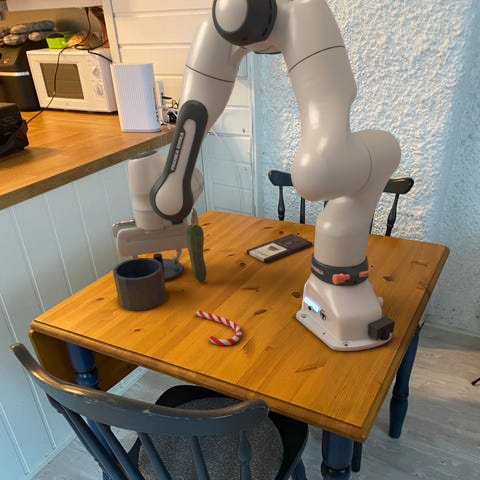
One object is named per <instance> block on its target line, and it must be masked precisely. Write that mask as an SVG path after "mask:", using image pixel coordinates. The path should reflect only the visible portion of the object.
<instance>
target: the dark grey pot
mask: <svg viewBox="0 0 480 480" xmlns="http://www.w3.org/2000/svg"><path fill="white" fill-rule="evenodd" d="M112 274H113V280H114V284H115V289H116V294H117V295H116V296H117V300H118V304H119V305H120V307H121V308H123V309H125V310H127V311H132V312H142V311H148V310H152V309H155V308H157V307H160V306H161V305H163V303H164V302H166V299H167V289H166V280H164V274H163V267H162V264H161V262H159V261H158V260H156V259H153V258H151V257H138V258H135V259H133V258H130V259H127V260H124V261H121V262H119V263H118V264H116V265H115V266H114V268H113V269H112Z"/></svg>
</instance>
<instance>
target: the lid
mask: <svg viewBox="0 0 480 480" xmlns="http://www.w3.org/2000/svg"><path fill="white" fill-rule="evenodd" d="M152 256H153V257H152V259H156V260H158V261H159V262H161V264H162V267H163V274H164V281H167V280H171V279H174V278H176V277H177V276H179V275H180V274H181V273H182V272H183V268H184V267H183V264H182V263H181V262H180V261H179V264H174V263H173V258H163V254H162V253H161V252H156V253H153V254H152Z"/></svg>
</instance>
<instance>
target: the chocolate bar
mask: <svg viewBox="0 0 480 480" xmlns="http://www.w3.org/2000/svg"><path fill="white" fill-rule="evenodd" d="M311 246H313V241H311V240H308V239H306V238H303V237H301V236H298V235H295V234H293V233H290V234H287V235H284V236H282V237H279V238H275V239H274V240H270V241H268V242H265V243H263V244H260V245H257V246H254V247H252V248H251V247H250V248H249V249H246V254H247V255H249V256H252V257H254V258H256V259H258V260H259V261H261V262H263V263H266V264H269V263H271V262H274V261H276V260H279V259H281V258H283V257H286V256H289V255H291V254H294V253H296V252H299V251H302V250H304V249H306V248H309V247H311Z"/></svg>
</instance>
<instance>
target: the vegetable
mask: <svg viewBox="0 0 480 480" xmlns="http://www.w3.org/2000/svg"><path fill="white" fill-rule="evenodd" d="M199 223H200V220H199V217H198V212H197V210H196V208H194V207H193V208H192V212H191V218H190V224H189V225H190V226H189V227H188V229H187V232H186V238H187V247H188V248H187V250H188V255H189V260H190V265H191V270H192V273H193V276H194V279H195V280H196V281H198V282H199V283H200V284H203V283H206V281H207V275H208V274H207V266H206V261H205V257H204V243H205V236H204V235H205V234H204V230H203V228H202V226H201V225H199Z"/></svg>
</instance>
